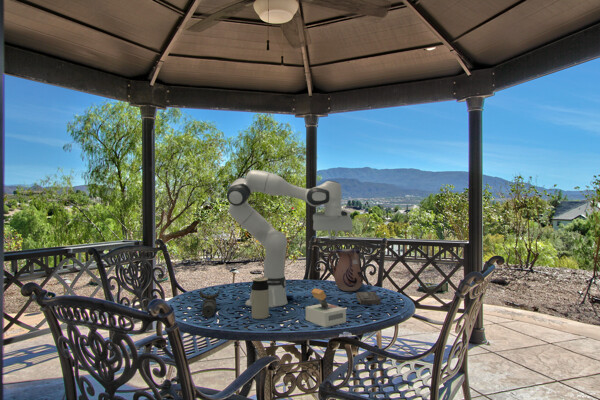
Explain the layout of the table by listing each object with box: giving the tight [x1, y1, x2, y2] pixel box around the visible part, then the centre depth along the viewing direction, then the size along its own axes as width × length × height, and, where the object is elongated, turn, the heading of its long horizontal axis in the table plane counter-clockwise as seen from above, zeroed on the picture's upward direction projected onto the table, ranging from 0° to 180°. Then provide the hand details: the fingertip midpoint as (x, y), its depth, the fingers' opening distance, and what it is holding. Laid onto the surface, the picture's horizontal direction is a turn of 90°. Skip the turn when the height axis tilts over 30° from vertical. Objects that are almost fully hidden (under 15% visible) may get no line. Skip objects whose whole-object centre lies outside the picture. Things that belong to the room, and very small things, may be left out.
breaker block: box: [305, 302, 347, 328], centre depth 178 cm, size 12×14×6 cm
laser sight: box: [199, 288, 220, 318], centre depth 196 cm, size 10×22×10 cm, turn 10°
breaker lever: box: [310, 288, 329, 308], centre depth 177 cm, size 2×6×9 cm
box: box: [355, 291, 381, 306], centre depth 217 cm, size 11×17×3 cm, turn 0°
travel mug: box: [251, 276, 270, 320], centre depth 186 cm, size 8×8×18 cm
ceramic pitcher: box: [328, 248, 364, 292], centre depth 246 cm, size 18×21×25 cm
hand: (332, 239), depth 202 cm, fingers closed
